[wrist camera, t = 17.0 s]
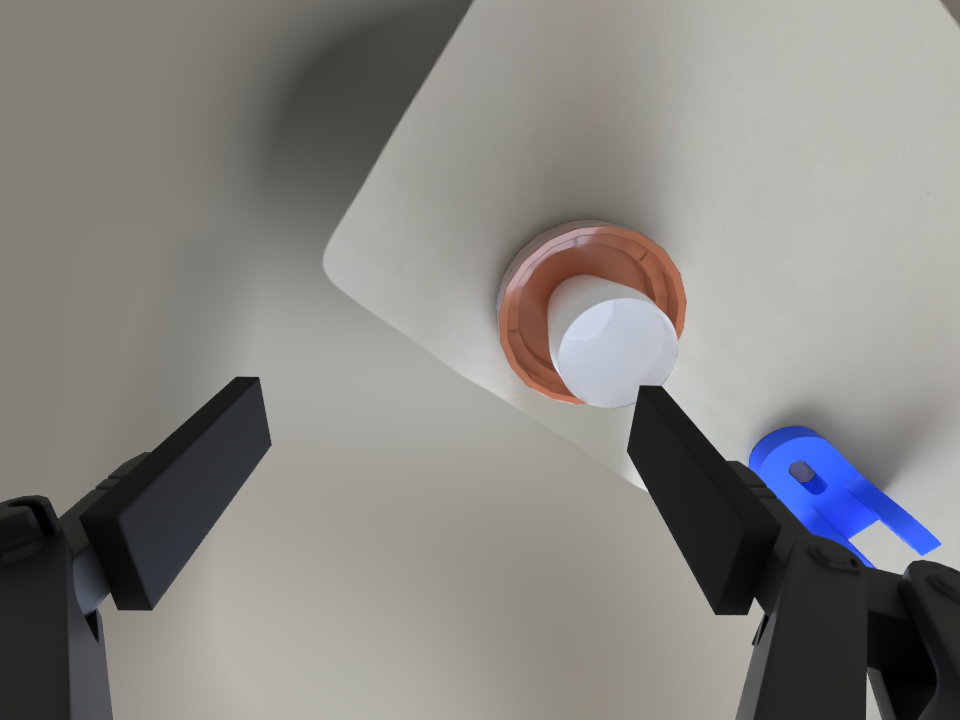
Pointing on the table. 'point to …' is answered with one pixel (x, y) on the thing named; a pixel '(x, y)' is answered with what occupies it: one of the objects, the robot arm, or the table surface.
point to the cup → (608, 340)
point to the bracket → (831, 491)
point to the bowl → (561, 258)
